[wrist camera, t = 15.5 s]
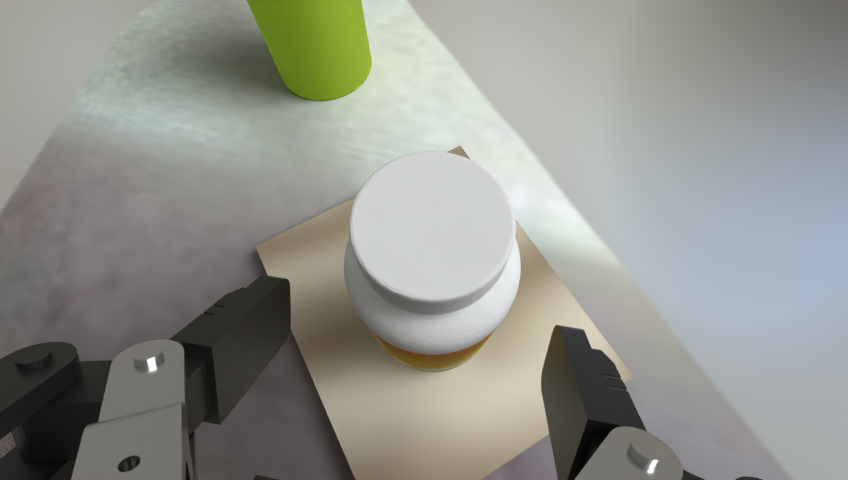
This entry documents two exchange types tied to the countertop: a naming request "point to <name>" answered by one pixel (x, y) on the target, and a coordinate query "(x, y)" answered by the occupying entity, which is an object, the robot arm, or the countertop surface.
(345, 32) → the soap dispenser
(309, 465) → the countertop surface
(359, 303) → the supplement bottle
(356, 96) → the countertop surface
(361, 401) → the ash board
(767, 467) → the countertop surface
